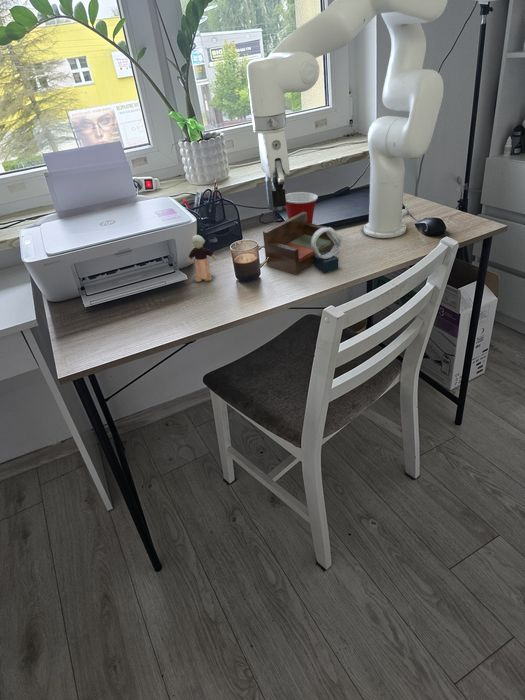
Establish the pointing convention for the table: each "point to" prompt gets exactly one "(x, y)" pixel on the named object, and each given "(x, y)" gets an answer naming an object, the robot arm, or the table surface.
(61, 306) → the table surface
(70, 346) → the table surface
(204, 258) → the grandmother figurine
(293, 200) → the plastic cup
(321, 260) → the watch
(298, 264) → the sofa
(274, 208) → the pepper pot
